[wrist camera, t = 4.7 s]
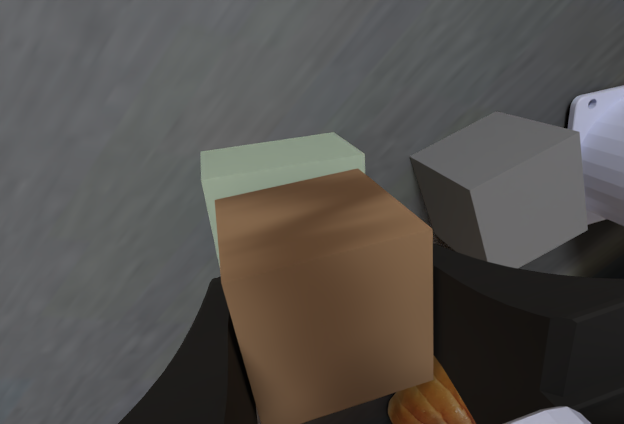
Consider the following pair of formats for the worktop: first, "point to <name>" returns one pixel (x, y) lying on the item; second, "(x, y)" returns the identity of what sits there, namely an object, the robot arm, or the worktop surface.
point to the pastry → (430, 402)
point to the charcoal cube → (504, 188)
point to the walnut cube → (326, 294)
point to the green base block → (273, 166)
